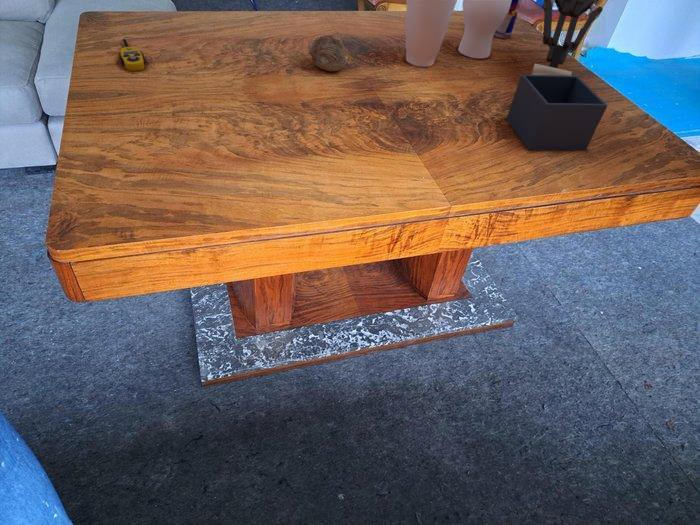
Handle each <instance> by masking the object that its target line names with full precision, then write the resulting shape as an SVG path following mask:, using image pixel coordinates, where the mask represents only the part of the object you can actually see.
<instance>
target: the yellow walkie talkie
mask: <svg viewBox="0 0 700 525" xmlns="http://www.w3.org/2000/svg"><path fill="white" fill-rule="evenodd" d="M122 41H123V44H124V46H125V47H121V49H120V51H119V55H118V56H119V59H120V60H119V61H120V63H121V65H122V66H123V67H124V68H125V69H127V70H128V71H130V72H137V71H143V70H144V69H145V66H146V59H145V56H144V53H143V51H141V50H140V49H138V47H135V46H129V45H128V42H127V40H126V38H123V39H122Z"/></svg>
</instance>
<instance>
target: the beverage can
mask: <svg viewBox="0 0 700 525" xmlns="http://www.w3.org/2000/svg"><path fill="white" fill-rule="evenodd" d="M521 4H522V0H512V2H511V5H510V9H509V12H508V14H507V15H506V17H505V19H504V20H503V22H502V23H501V24H500V25H499V27H498V28H497V29H496V31H495V33H494V36H495V37H496V38H499V39H508V38H509V37H511V35H512V33H513V29H514V27H515V22H516V20H517V17H518V14H519V10H520V6H521Z"/></svg>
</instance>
